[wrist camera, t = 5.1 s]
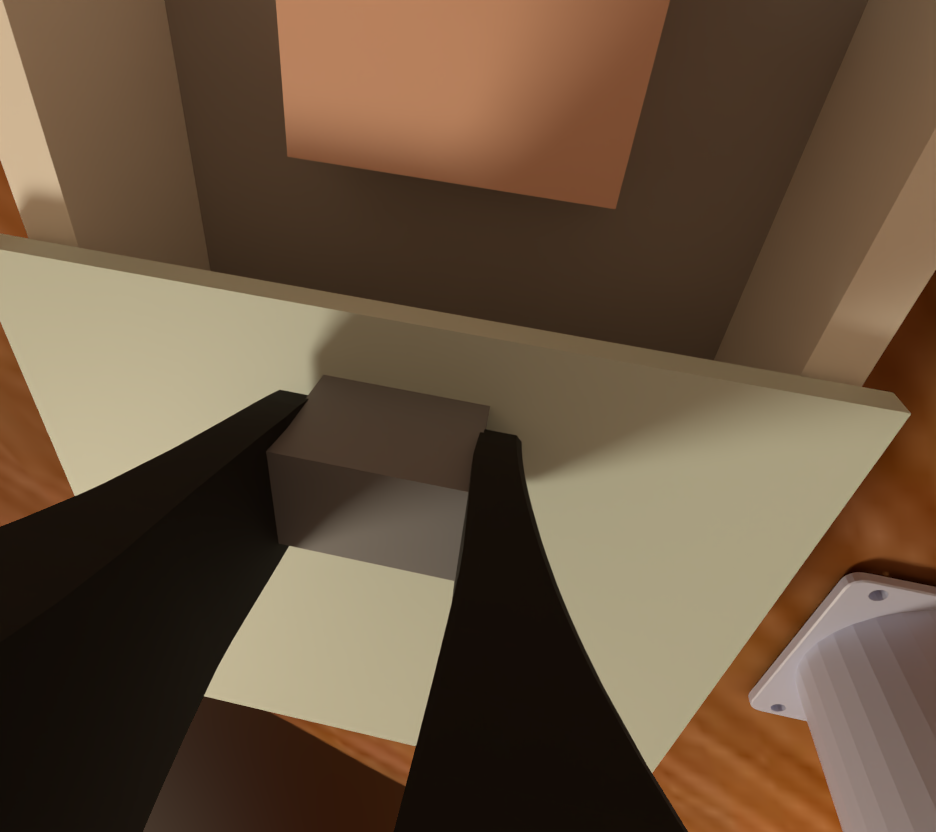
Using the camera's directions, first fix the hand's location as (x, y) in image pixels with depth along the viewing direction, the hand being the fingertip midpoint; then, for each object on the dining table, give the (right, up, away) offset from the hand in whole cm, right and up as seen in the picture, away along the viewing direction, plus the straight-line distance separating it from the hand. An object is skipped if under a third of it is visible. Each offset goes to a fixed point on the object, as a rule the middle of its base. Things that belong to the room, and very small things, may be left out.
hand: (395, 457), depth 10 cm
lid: (0, -3, +4) cm, 5 cm away
